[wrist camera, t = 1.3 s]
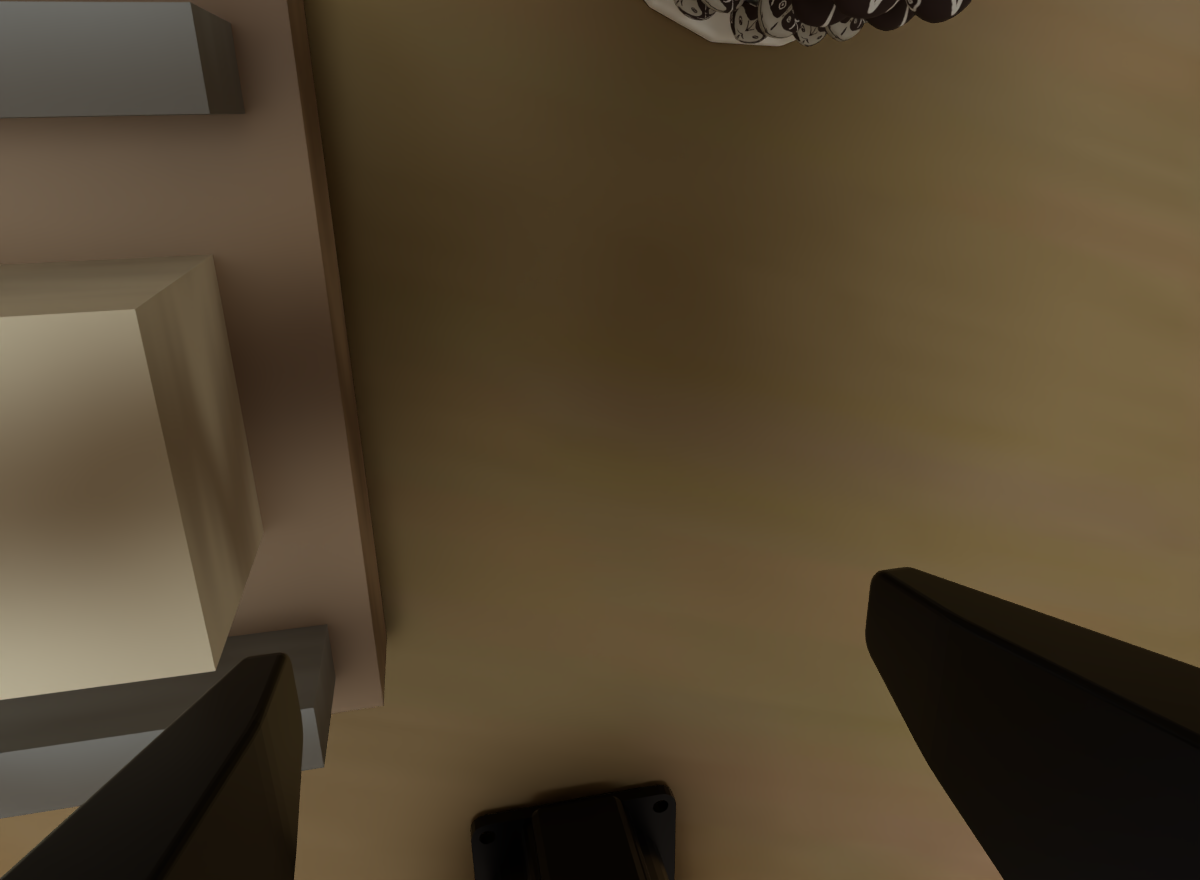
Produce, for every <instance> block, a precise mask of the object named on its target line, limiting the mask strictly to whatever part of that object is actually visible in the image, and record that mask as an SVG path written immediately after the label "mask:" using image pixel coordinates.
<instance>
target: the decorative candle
mask: <svg viewBox="0 0 1200 880" xmlns="http://www.w3.org/2000/svg"><path fill="white" fill-rule="evenodd" d="M644 1H645V2H646V3H647V5H648V6H649V7H650V8H652V9H654V10H655V11H657V12H659V13H661V14H662V15H664V16H666V17H668V18H669V19H671V20H673V21H675V22H676V23H678V24H680V25H682V26H683V27H685V28H687V29H689V30H691V31H692V32H694V33H696V34H698V35H699V36H701V37H703V38H705V39H706V40H708V41H710V42H718V43H733V44H748V45H763V46H782V45H785V44H787V43H790V42H792V41H795V40H797V41H798V42H799V43H800V44H802V45H804V46H807V47H808V46H813V45H814V44H816V43H818V42H819V41H821V40H822V39H823V38H824V37H825V35H826V34H827V33H828V34H829V36H831V37H832V38H833V39H835V40H837V41H846V40H848V39H850V38H852V37H854V36H855V35H856V34H857V33H858V32H859V31H860V29H861V28H862V27H863V25H864V23H867V22H868V23H869V24H870V25H872V26H874V27H875V28H877V29H880V30H883V31H889V30H894V29H896V28H898V27H900V26H902V25H904V24H905V23H907V22H908V21H909V20H910V19H911V18H912V17H913V16H914V15H916V16H918V17H919V18H921V19H922V20H924V21H927V22H930V23H939V22H944V21H946V20H948V19H950V18H952V17H954V16H956V15H957V14H959V13H960V12H961V11H962V10H963V9H964V8H965V7H966V6H967V5H968V4H969V3H970V2H971V0H644Z"/></svg>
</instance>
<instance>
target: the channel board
mask: <svg viewBox="0 0 1200 880" xmlns="http://www.w3.org/2000/svg"><path fill="white" fill-rule="evenodd" d="M212 254H213V259H214V265H215V270H216V276H217V281H218V286H219V292H220V297H221V303H222V308H223V314H224V319H225V325H226V330H227V335H228V341H229V346H230V352H231V357H232V362H233V368H234V373H235V379H236V384H237V390H238V395H239V400H240V406H241V411H242V417H243V422H244V428H245V433H246V439H247V444H248V449H249V455H250V460H251V466H252V471H253V477H254V482H255V487H256V493H257V498H258V504H259V509H260V514H261V520H262V525H263V531H264V534H263V537H262V539H261V542H260V545H259V548H258V551H257V554H256V557H255V559H254V562H253V565H252V568H251V571H250V574H249V577H248V580H247V582H246V585H245V588H244V591H243V594H242V597H241V600H240V602H239V605H238V608H237V611H236V614H235V617H234V620H233V622H232V625H231V628H230V631H229V634H228V637H227V640H226V643H225V645H224V648H223V651H222V654H221V657H220V660H219V663H218V665H217V668H216V671H212V672H204V673H197V674H189V675H182V676H175V677H167V678H160V679H152V680H145V681H138V682H130V683H123V684H115V685H108V686H100V687H93V688H86V689H78V690H71V691H63V692H56V693H48V694H41V695H34V696H26V697H19V698H11V699H4V700H0V819H1V818H7V817H13V816H19V815H26V814H32V813H38V812H45V811H51V810H57V809H64V808H70V807H76V806H81V805H82V804H83V803H84V802H85V801H86V800H88V799H89V798H90V797H91V796H92V795H93V794H94V793H95V792H96V791H97V790H99V789H100V788H101V787H102V786H103V785H104V784H105V783H106V782H107V781H108V780H110V779H111V778H112V777H113V776H114V775H115V774H116V773H117V772H118V771H120V770H121V769H122V768H123V767H124V766H125V765H126V764H127V763H128V762H129V761H131V760H132V759H133V758H134V757H135V756H136V755H137V754H138V753H139V752H141V751H142V750H143V749H144V748H145V747H146V746H147V745H148V744H149V743H150V742H152V741H153V740H154V739H155V738H156V737H157V736H158V735H159V734H160V733H161V732H163V731H164V730H165V729H166V728H167V727H168V726H169V725H170V724H171V723H173V722H174V721H175V720H176V719H177V718H178V717H179V716H180V715H181V714H182V713H184V712H185V711H186V710H187V709H188V708H189V707H190V706H191V705H192V704H193V703H195V702H196V701H197V700H198V699H199V698H200V697H201V696H202V695H203V694H205V693H206V692H207V691H208V690H209V689H210V688H211V687H212V686H213V685H214V684H216V683H217V682H218V681H219V680H220V679H221V678H222V677H223V676H224V675H226V674H227V673H228V672H229V671H230V670H231V669H232V668H233V667H234V666H235V665H237V664H238V663H239V662H240V661H241V660H243V659H244V658H246V657H249V656H255V655H262V654H270V653H277V652H284V653H286V654H287V655H288V656H289V658H290V660H291V663H292V667H293V673H294V678H295V683H296V689H297V694H298V699H299V705H300V710H301V715H302V723H303V753H302V768H301V771H304V770H310V769H316V768H322V767H324V764H325V756H326V748H327V741H328V733H329V726H330V718H331V714H332V713H339V712H345V711H352V710H359V709H366V708H373V707H379V706H384V687H385V664H386V641H387V635H386V627H385V620H384V612H383V604H382V597H381V589H380V581H379V574H378V566H377V559H376V551H375V543H374V536H373V528H372V520H371V513H370V505H369V498H368V490H367V482H366V475H365V467H364V459H363V452H362V444H361V437H360V429H359V421H358V414H357V406H356V398H355V391H354V383H353V376H352V368H351V360H350V353H349V345H348V337H347V330H346V322H345V314H344V307H343V299H342V292H341V284H340V276H339V269H338V261H337V253H336V246H335V238H334V231H333V223H332V215H331V208H330V200H329V192H328V185H327V177H326V170H325V162H324V154H323V147H322V139H321V131H320V124H319V116H318V109H317V101H316V93H315V86H314V78H313V70H312V63H311V55H310V48H309V40H308V32H307V25H306V17H305V9H304V2H303V0H0V265H4V264H24V263H45V262H66V261H87V260H108V259H128V258H149V257H170V256H191V255H212Z"/></svg>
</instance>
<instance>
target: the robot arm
mask: <svg viewBox="0 0 1200 880" xmlns="http://www.w3.org/2000/svg"><path fill="white" fill-rule="evenodd" d="M865 637H866V644H867V648H868V651H869V653H870V656H871V658H872V659H873V661H874V663H875V665H876V667H877V669H878V671H879V673H880V675H881V677H882V679H883V680H884V682H885V684H886V686H887V688H888V690H889V692H890V694H891V696H892V698H893V700H894V701H895V703H896V705H897V707H898V709H899V711H900V713H901V715H902V717H903V719H904V721H905V722H906V724H907V726H908V728H909V730H910V732H911V734H912V736H913V738H914V740H915V742H916V743H917V745H918V747H919V749H920V751H921V753H922V754H923V756H924V758H925V760H926V761H927V763H928V765H929V767H930V768H931V770H932V771H933V773H934V774H935V776H936V778H937V779H938V781H939V782H940V784H941V786H942V787H943V789H944V790H945V792H946V793H947V795H948V796H949V798H950V799H951V801H952V802H953V804H954V805H955V807H956V808H957V810H958V811H959V813H960V814H961V816H962V817H963V819H964V820H965V822H966V823H967V825H968V826H969V828H970V829H971V831H972V832H973V834H974V835H975V837H976V838H977V840H978V841H979V843H980V844H981V846H982V847H983V849H984V850H985V852H986V853H987V855H988V856H989V858H990V859H991V861H992V862H993V864H994V865H995V867H996V868H997V870H998V871H999V873H1000V874H1001V876H1002V877H1003V879H1004V880H1200V668H1198V667H1195V666H1193V665H1190V664H1187V663H1184V662H1181V661H1178V660H1175V659H1172V658H1170V657H1167V656H1164V655H1161V654H1158V653H1155V652H1152V651H1150V650H1147V649H1144V648H1141V647H1138V646H1135V645H1132V644H1129V643H1127V642H1124V641H1121V640H1118V639H1115V638H1112V637H1109V636H1107V635H1104V634H1101V633H1098V632H1095V631H1092V630H1089V629H1086V628H1084V627H1081V626H1078V625H1075V624H1072V623H1069V622H1066V621H1064V620H1061V619H1058V618H1055V617H1052V616H1049V615H1046V614H1043V613H1041V612H1038V611H1035V610H1032V609H1029V608H1026V607H1023V606H1021V605H1018V604H1015V603H1012V602H1009V601H1006V600H1003V599H1000V598H998V597H995V596H992V595H989V594H986V593H983V592H980V591H978V590H975V589H972V588H969V587H966V586H963V585H960V584H958V583H955V582H952V581H949V580H946V579H943V578H940V577H937V576H935V575H932V574H929V573H926V572H923V571H920V570H917V569H915V568H911V567H902V568H895V569H888V570H882V571H878V572H877V573H876V574H875V575H874V576H873V578H872V580H871V585H870V592H869V602H868V611H867V620H866V629H865ZM302 753H303V723H302V715H301V710H300V705H299V699H298V694H297V689H296V683H295V678H294V673H293V667H292V663H291V660H290V658H289V656H288V655H287V654H286V653H284V652H277V653H270V654H262V655H255V656H249V657H246V658H244V659H243V660H241V661H240V662H239V663H238V664H237V665H235V666H234V667H233V668H232V669H231V670H230V671H229V672H228V673H227V674H226V675H224V676H223V677H222V678H221V679H220V680H219V681H218V682H217V683H216V684H214V685H213V686H212V687H211V688H210V689H209V690H208V691H207V692H206V693H205V694H203V695H202V696H201V697H200V698H199V699H198V700H197V701H196V702H195V703H193V704H192V705H191V706H190V707H189V708H188V709H187V710H186V711H185V712H184V713H182V714H181V715H180V716H179V717H178V718H177V719H176V720H175V721H174V722H173V723H171V724H170V725H169V726H168V727H167V728H166V729H165V730H164V731H163V732H161V733H160V734H159V735H158V736H157V737H156V738H155V739H154V740H153V741H152V742H150V743H149V744H148V745H147V746H146V747H145V748H144V749H143V750H142V751H141V752H139V753H138V754H137V755H136V756H135V757H134V758H133V759H132V760H131V761H129V762H128V763H127V764H126V765H125V766H124V767H123V768H122V769H121V770H120V771H118V772H117V773H116V774H115V775H114V776H113V777H112V778H111V779H110V780H108V781H107V782H106V783H105V784H104V785H103V786H102V787H101V788H100V789H99V790H97V791H96V792H95V793H94V794H93V795H92V796H91V797H90V798H89V799H88V800H86V801H85V802H84V803H83V804H82V805H81V806H80V807H79V808H78V809H76V810H75V811H74V812H73V813H72V814H71V815H70V816H69V817H68V818H67V819H65V820H64V821H63V822H62V823H61V824H60V825H59V826H58V827H57V828H55V829H54V830H53V831H52V832H51V833H50V834H49V835H48V836H47V837H46V838H44V839H43V840H42V841H41V842H40V843H39V844H38V845H37V846H36V847H35V848H33V849H32V850H31V851H30V852H29V853H28V854H27V855H26V856H25V857H23V858H22V859H21V860H20V861H19V862H18V863H17V864H16V865H15V866H14V867H12V868H11V869H10V870H9V871H8V872H7V873H6V874H5V875H4V876H2V877H1V878H0V880H294V871H295V861H296V847H297V831H298V816H299V800H300V784H301V768H302ZM660 800H663V801H662V802H660V803H656V802H657V801H660ZM675 819H676V803H675V799H674V796H673V794H672V791H671V789H670V788H669V787H667V786H665V785H655V786H649V787H643V788H638V789H632V790H626V791H621V792H615V793H609V794H603V795H598V796H592V797H586V798H580V799H575V800H569V801H563V802H558V803H552V804H546V805H540V806H535V807H529V808H523V809H517V810H512V811H506V812H500V813H495V814H489V815H484V816H481V817H479V818H477V819H476V820H475V821H474V822H473V823H472V825H471V830H470V832H471V843H472V853H473V863H474V873H475V880H674V874H675ZM486 831H492V832H491V833H488V834H483V832H486Z"/></svg>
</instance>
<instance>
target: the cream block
mask: <svg viewBox="0 0 1200 880" xmlns="http://www.w3.org/2000/svg"><path fill="white" fill-rule="evenodd" d="M263 534H264V531H263V525H262V520H261V514H260V509H259V504H258V498H257V493H256V487H255V482H254V477H253V471H252V466H251V460H250V455H249V449H248V444H247V439H246V433H245V428H244V422H243V417H242V411H241V406H240V400H239V395H238V390H237V384H236V379H235V373H234V368H233V362H232V357H231V352H230V346H229V341H228V335H227V330H226V325H225V319H224V314H223V308H222V303H221V297H220V292H219V286H218V281H217V276H216V270H215V265H214V259H213V254H212V255H191V256H170V257H149V258H128V259H108V260H87V261H66V262H45V263H24V264H4V265H0V700H4V699H11V698H19V697H26V696H34V695H41V694H48V693H56V692H63V691H71V690H78V689H86V688H93V687H100V686H108V685H115V684H123V683H130V682H138V681H145V680H152V679H160V678H167V677H175V676H182V675H189V674H197V673H204V672H212V671H216V668H217V665H218V663H219V660H220V657H221V654H222V651H223V648H224V645H225V643H226V640H227V637H228V634H229V631H230V628H231V625H232V622H233V620H234V617H235V614H236V611H237V608H238V605H239V602H240V600H241V597H242V594H243V591H244V588H245V585H246V582H247V580H248V577H249V574H250V571H251V568H252V565H253V562H254V559H255V557H256V554H257V551H258V548H259V545H260V542H261V539H262V537H263Z"/></svg>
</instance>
